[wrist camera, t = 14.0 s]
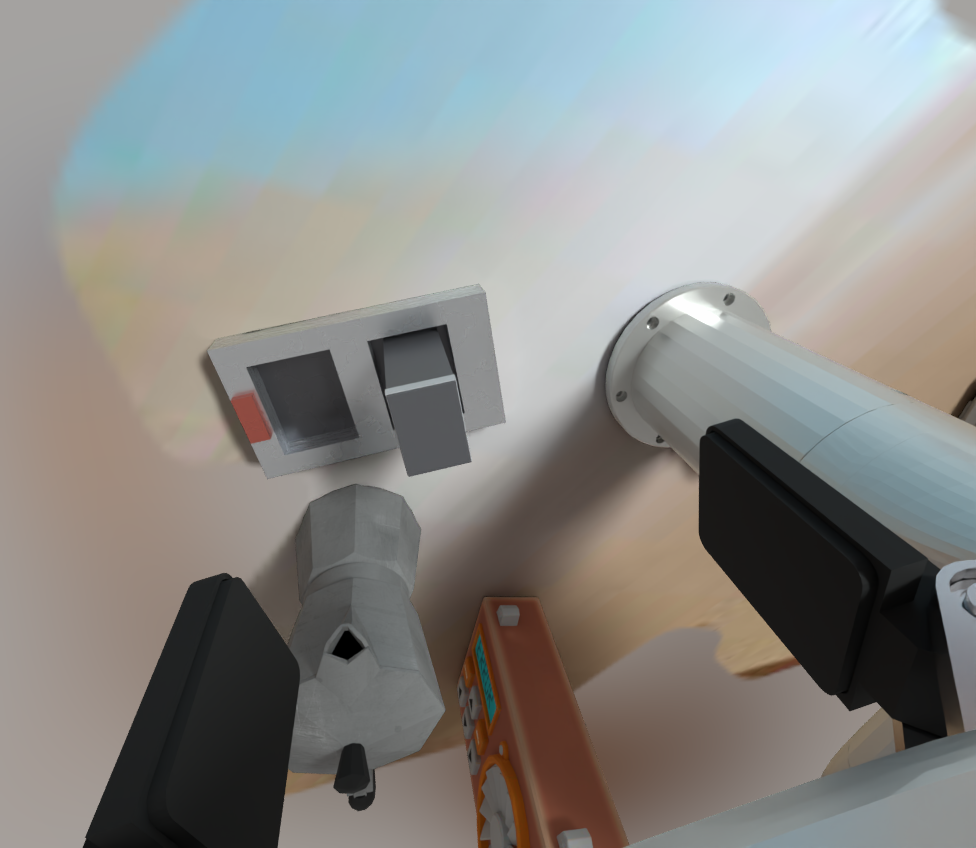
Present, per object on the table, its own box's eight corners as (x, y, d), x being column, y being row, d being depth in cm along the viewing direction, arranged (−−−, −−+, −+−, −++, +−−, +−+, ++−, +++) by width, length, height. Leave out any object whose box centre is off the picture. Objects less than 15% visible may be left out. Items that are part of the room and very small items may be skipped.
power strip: (479, 283, 31) (486, 294, 29) (499, 408, 36) (507, 425, 34) (216, 338, 30) (204, 353, 27) (272, 462, 34) (266, 483, 32)
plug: (436, 326, 32) (456, 380, 24) (450, 394, 34) (472, 462, 27) (382, 337, 31) (385, 396, 24) (400, 406, 34) (407, 477, 26)
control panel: (446, 694, 50) (478, 585, 44) (512, 691, 52) (551, 586, 46) (489, 1010, 32) (555, 901, 25) (588, 987, 34) (672, 881, 27)
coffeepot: (283, 462, 34) (211, 720, 19) (421, 455, 36) (458, 684, 21) (307, 618, 42) (269, 896, 26) (421, 605, 44) (448, 857, 28)
